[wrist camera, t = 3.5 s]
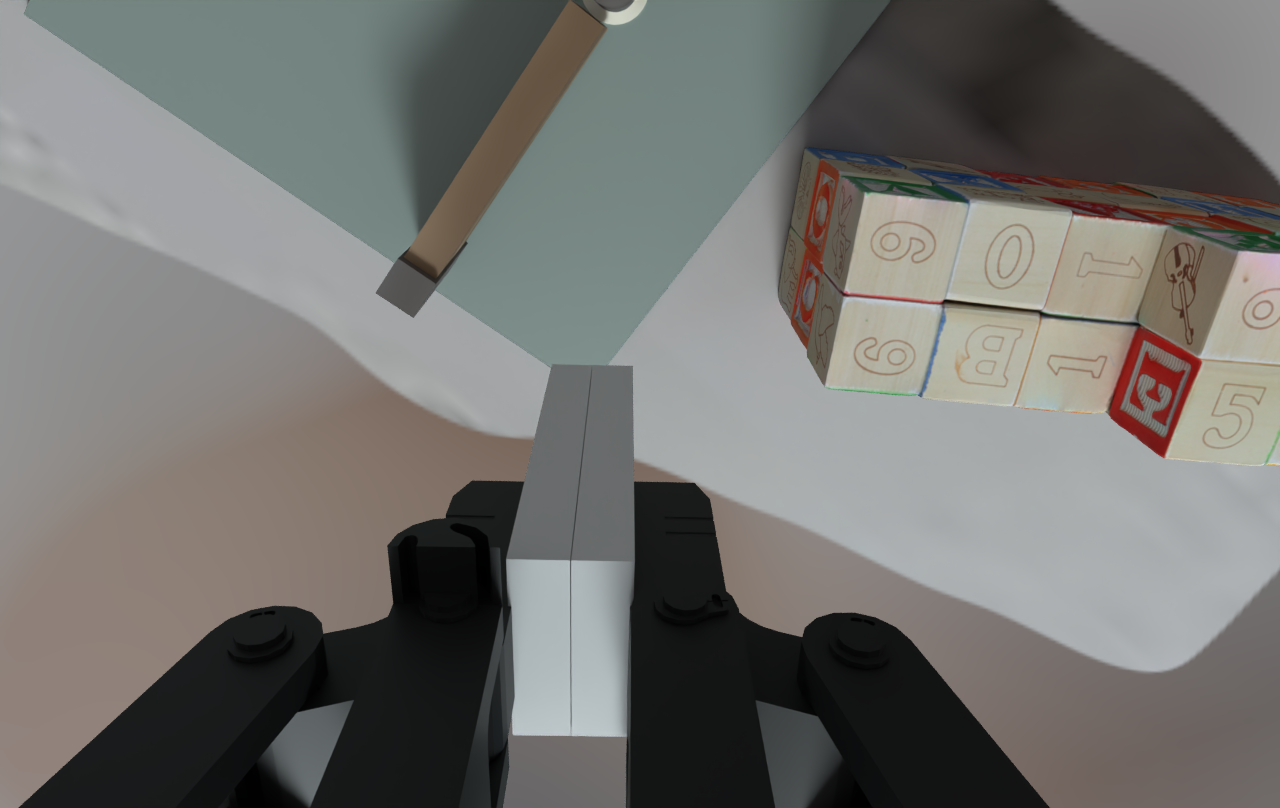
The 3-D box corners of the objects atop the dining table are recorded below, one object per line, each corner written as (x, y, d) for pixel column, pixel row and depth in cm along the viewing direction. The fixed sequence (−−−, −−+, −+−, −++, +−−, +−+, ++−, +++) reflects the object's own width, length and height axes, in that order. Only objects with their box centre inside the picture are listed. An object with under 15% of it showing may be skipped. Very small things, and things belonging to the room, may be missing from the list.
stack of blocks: (772, 302, 35) (842, 430, 23) (801, 143, 32) (895, 201, 21) (1271, 356, 36) (1567, 503, 25) (1336, 207, 33) (1699, 294, 22)
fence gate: (417, 250, 33) (375, 292, 27) (577, 3, 29) (566, -4, 24) (448, 271, 33) (413, 318, 28) (610, 30, 30) (606, 28, 24)
